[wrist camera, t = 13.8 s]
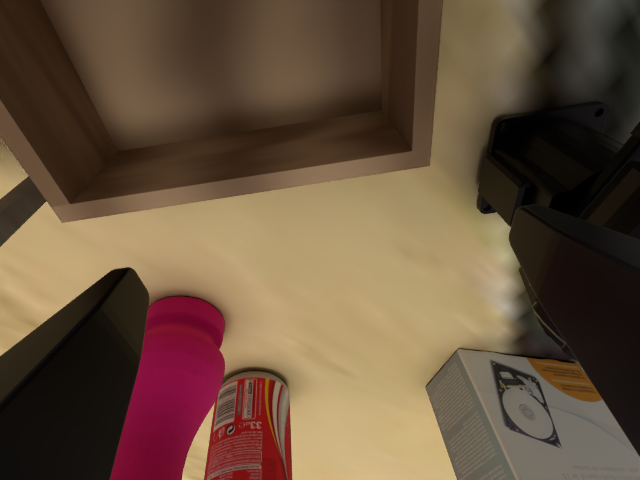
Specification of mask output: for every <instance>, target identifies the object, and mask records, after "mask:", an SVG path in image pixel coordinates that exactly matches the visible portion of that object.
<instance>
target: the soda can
mask: <svg viewBox="0 0 640 480" xmlns="http://www.w3.org/2000/svg"><path fill="white" fill-rule="evenodd" d="M204 480H292V458H291V428H290V399H289V390H288V388H287V386H286V385H285V384H284V383H283V382H282V381H281V380H280V379H279V378H278V377H277V376H275V375H273V374H270V373H267V372H262V371H249V372H243V373H239V374H237V375H234V376H232V377H231V378H229V379H228V380H227V381H226V382H225V383H224V384H223V385H222V386H221V388H220V390H219V393H218V395H217V397H216V400H215V406H214V413H213V420H212V427H211V434H210V441H209V448H208V455H207V462H206V469H205V477H204Z"/></svg>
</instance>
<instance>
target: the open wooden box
mask: <svg viewBox="0 0 640 480" xmlns="http://www.w3.org/2000/svg"><path fill="white" fill-rule="evenodd" d="M442 5H443V0H0V136H1V137H2V139H3V140H4V142H5V143H6V145H7V146H8V147H9V149H10V150H11V152H12V153H13V154H14V156H15V157H16V159H17V160H18V161H19V163H20V164H21V166H22V167H23V168H24V170H25V171H26V173H27V174H28V175H29V176H28V177H27V178H26V179H25V180H23V181H22V182H21V183H20V184H19V185H17V186H16V187H15V188H14V189H12V190H11V191H10V192H9V193H8V194H6V195H5V196H4V197H3V198H1V199H0V247H1V246H2V245H3V244H4V243H5V242H6V241H7V240H8V239H9V238H10V237H11V236H12V235H13V234H14V233H15V232H16V231H17V230H18V229H19V228H20V227H21V226H22V225H23V224H24V223H25V222H26V221H27V220H28V219H29V218H30V217H31V216H32V215H33V214H34V213H35V212H36V211H37V210H38V209H39V208H40V207H41V206H42V205H43V204H44V203H45V202H46V201H47V202H48V204H49V205H50V206H51V208H52V209H53V211H54V212H55V213H56V215H57V216H58V218H59V219H60V220H61V222H62V223H64V222H70V221H77V220H83V219H90V218H96V217H103V216H109V215H115V214H122V213H128V212H135V211H141V210H148V209H154V208H161V207H167V206H174V205H180V204H186V203H193V202H199V201H206V200H212V199H219V198H225V197H232V196H238V195H245V194H251V193H258V192H264V191H270V190H277V189H283V188H290V187H296V186H303V185H309V184H316V183H322V182H329V181H335V180H341V179H348V178H354V177H361V176H367V175H374V174H380V173H387V172H393V171H400V170H406V169H412V168H419V167H425V166H430V157H431V145H432V132H433V119H434V106H435V94H436V81H437V68H438V56H439V43H440V30H441V17H442Z"/></svg>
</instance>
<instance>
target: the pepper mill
mask: <svg viewBox="0 0 640 480" xmlns="http://www.w3.org/2000/svg"><path fill="white" fill-rule="evenodd" d="M224 328H225V323H224V319H223V317H222V315H221V314H220V312H219V311H218V310H217V309H216V308H215V307H214V306H212V305H210V304H209V303H207V302H205V301H203V300H200V299H196V298H192V297H183V296H176V297H168V298H165V299H162V300H159V301H157V302H155V303H153V304H152V305H151V306H150V307H149V308H148V315H147V322H146V329H145V336H144V343H143V350H142V356H141V361H140V365H139V369H138V373H137V377H136V381H135V385H134V389H133V392H132V396H131V400H130V404H129V408H128V412H127V416H126V419H125V423H124V427H123V431H122V435H121V439H120V442H119V446H118V450H117V454H116V458H115V462H114V466H113V469H112V473H111V477H110V480H182V473H183V468H184V465H185V461H186V457H187V453H188V451H189V448H190V446H191V444H192V441H193V439H194V437H195V435H196V433H197V431H198V429H199V427H200V426H201V424H202V422H203V420H204V419H205V417H206V415H207V414H208V412H209V411H210V409H211V407H212V406H213V404H214V402H215V400H216V397H217V395H218V393H219V390H220V388H221V386H222V381H223V377H224V371H225V362H224V358H223V355H222V353H221V352H220V350H219V349H220V347H221V345H222V340H223V334H224Z"/></svg>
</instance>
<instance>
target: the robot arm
mask: <svg viewBox="0 0 640 480" xmlns="http://www.w3.org/2000/svg"><path fill="white" fill-rule="evenodd" d="M598 109H599V110H598ZM597 110H598V112H597V113H596V114H595V112H596V111H597ZM607 112H608V105H606V104H604V103H602V102H592V103H586V104H579V105H573V106H566V107H560V108H554V109H547V110H541V111H534V112H528V113H521V114H515V115H508V116H502V117H499V118H498V119H496V120H495V122H494V123H493V125H492V130H491V135H490V141H489V146H488V151H487V154H486V156H485V157H484V162H483V167H482V173H481V178H480V184H479V189H478V192H479V193H480V195H479V200H478V205H477V206H478V209H479V211H480V212H481V213H483V214H489V213H495V212H497V213H498V214H499V215H500V216H501V217H502V218H503V220H504V221H505V222H506V223H507V224H508V225H509V226H510V227H511V230H510V233H509V242H510V245H511V247H512V249H513V251H514V253H515V255H516V257H517V259H518V261H519V263H520V265H521V267H520V268H519V272H520V274H521V277H522V280H523V282H524V285H525V287H526V290H527V293H528V295H529V298H530V300H531V303H532V306H533V310H534V313H535V314H536V316H537V319H538V321H539V323H540V324H541V326H542V328H543V329H544V331H545V333H546V334H547V335H548V336H549V337H551V338H552V339H553V340H554V341H555V342H556V343H557V344H558V345H559V346H560V347H561V348H562V350H563V351H564V352H565V353H566V354H567V355H569V356H571V357H572V358H574V359H575V360H577V361H578V362H579V364H580V365H581V367H582V369H583V370H584V372H585V373H586V375H587V376H588V378H589V379H590V381H591V382H592V384H593V386H594V387H595V389H596V390H597V392H598V393H599V395H600V396H601V398H602V399H603V401H604V403H605V404H606V406H607V407H608V409H609V410H610V412H611V413H612V415H613V416H614V418H615V420H616V421H617V423H618V424H619V426H620V427H621V429H622V430H623V432H624V433H625V435H626V437H627V438H628V440H629V441H630V443H631V444H632V446H633V447H634V449H635V450H636V452H637V454H638V455H639V457H640V122H639V124H638V125H637V126H636V127H635V128H634V130H633V131H632V132H631V134H632V136H631V137H630V138H629V139H628V141H627V142H626V143H625V144H622V143H620V142H618V141H616V140H614V139H612V138H610V137H608V136H606V135H604V134H602V133H600V131H601V128H602V125H603V123H604V120H605V118H606V115H607ZM504 123H505V126H504V127H503V128H502V129H500V126H501V125H502V124H504ZM486 205H488V206H487V207H485V206H486ZM484 207H485V208H484ZM148 307H149V294H148V291H147V289H146V287H145V286H144V284H143V283H142V281H141V279H140V278H139V276H138V275H137V273H136V271H135V270H134V269H132V268H129V267H127V268H121V269H115V270H112V271H110V272H109V273H108V274H106V275H105V276H104V277H102V278H101V279H100V280H99V281H97V282H96V283H95V284H93V285H92V286H91V287H89V288H88V289H87V290H86V291H84V292H83V293H82V294H80V295H79V296H78V297H76V298H75V299H74V300H73V301H71V302H70V303H69V304H67V305H66V306H65V307H64V308H62V309H61V310H60V311H58V312H57V313H56V314H54V315H53V316H52V317H51V318H49V319H48V320H47V321H45V322H44V323H43V324H42V325H40V326H39V327H38V328H36V329H35V330H34V331H32V332H31V333H30V334H29V335H27V336H26V337H25V338H23V339H22V340H21V341H20V342H18V343H17V344H16V345H14V346H13V347H12V348H10V349H9V350H8V351H7V352H5V353H4V354H3V355H1V356H0V480H110V477H111V473H112V469H113V466H114V462H115V458H116V454H117V450H118V446H119V442H120V439H121V435H122V431H123V427H124V423H125V419H126V416H127V412H128V408H129V404H130V400H131V396H132V392H133V389H134V385H135V381H136V377H137V373H138V369H139V365H140V361H141V356H142V350H143V343H144V336H145V329H146V322H147V315H148Z"/></svg>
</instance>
